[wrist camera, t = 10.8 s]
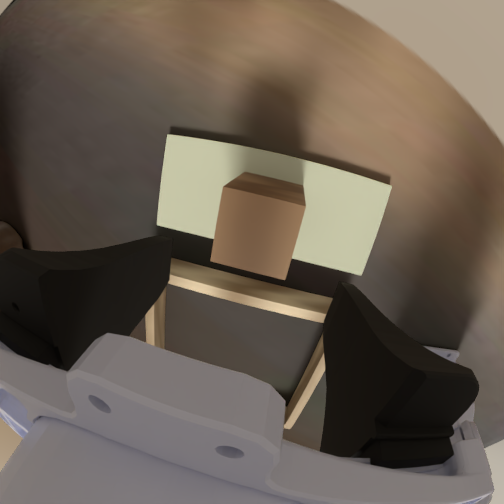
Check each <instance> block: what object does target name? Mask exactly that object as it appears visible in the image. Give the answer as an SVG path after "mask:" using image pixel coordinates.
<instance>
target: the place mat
mask: <svg viewBox="0 0 504 504" xmlns="http://www.w3.org/2000/svg"><path fill="white" fill-rule="evenodd" d="M244 172H249V173H254V174H258V175H263V176H267V177H271V178H275V179H279V180H284V181H288V182H292V183H295V184H299V185H303V186H304V194H305V202H306V208H305V212H304V216H303V219H302V223H301V227H300V230H299V234H298V238H297V241H296V245H295V248H294V252H293V255H292V259H296V260H300V261H304V262H308V263H313V264H317V265H321V266H325V267H329V268H333V269H337V270H341V271H345V272H349V273H353V274H357V275H362V273H363V270H364V268H365V265H366V262H367V260H368V257H369V254H370V252H371V249H372V246H373V243H374V241H375V238H376V235H377V232H378V229H379V226H380V223H381V220H382V217H383V214H384V211H385V208H386V205H387V201H388V198H389V195H390V191H391V188H392V186H391V185H388V184H385V183H382V182H379V181H376V180H373V179H370V178H367V177H364V176H361V175H358V174H354V173H351V172H348V171H344V170H341V169H337V168H334V167H330V166H327V165H323V164H319V163H316V162H312V161H308V160H304V159H300V158H296V157H292V156H288V155H284V154H279V153H275V152H270V151H266V150H261V149H256V148H251V147H246V146H241V145H236V144H231V143H225V142H219V141H214V140H207V139H201V138H194V137H187V136H180V135H173V134H168V135H167V141H166V148H165V155H164V162H163V170H162V178H161V186H160V196H159V206H158V217H157V225H158V226H162V227H167V228H171V229H175V230H179V231H183V232H187V233H191V234H195V235H199V236H203V237H207V238H211V239H214V235H215V229H216V223H217V217H218V211H219V206H220V200H221V194H222V189H223V186H224V185H226V184H227V183H229V182H230V181H232V180H233V179H235V178H236V177H238V176H239V175H241V174H242V173H244Z"/></svg>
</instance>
